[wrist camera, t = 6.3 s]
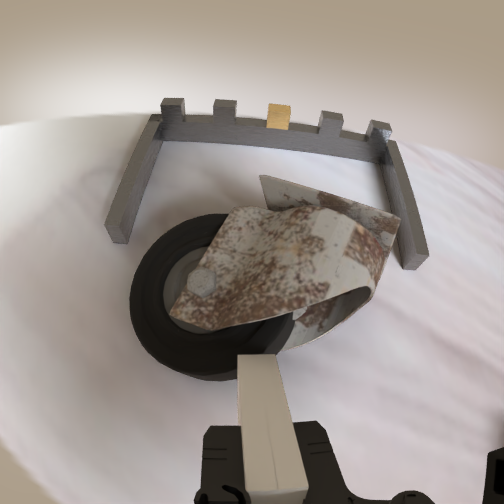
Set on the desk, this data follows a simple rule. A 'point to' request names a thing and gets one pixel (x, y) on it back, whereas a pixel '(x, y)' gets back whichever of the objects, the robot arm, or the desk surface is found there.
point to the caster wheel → (258, 278)
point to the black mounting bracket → (494, 478)
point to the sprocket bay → (273, 136)
